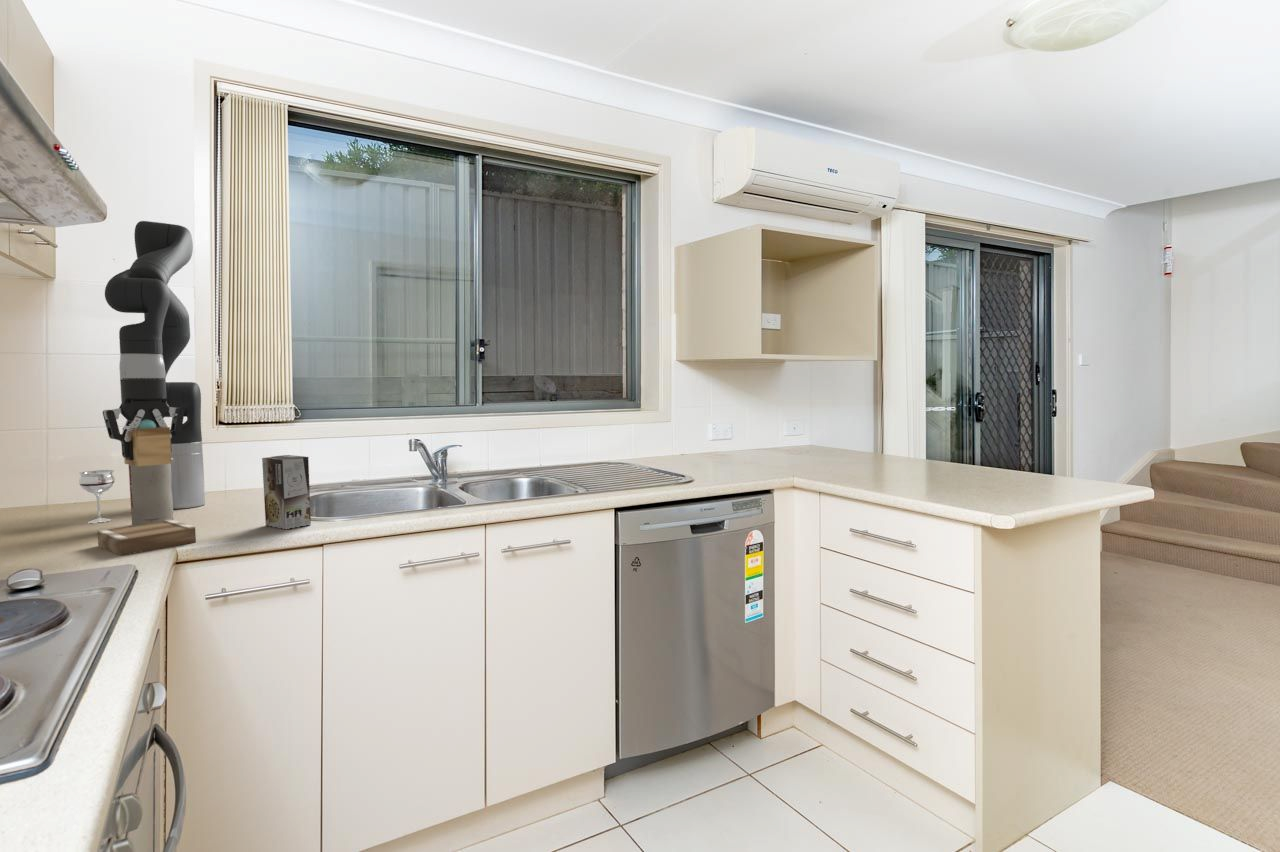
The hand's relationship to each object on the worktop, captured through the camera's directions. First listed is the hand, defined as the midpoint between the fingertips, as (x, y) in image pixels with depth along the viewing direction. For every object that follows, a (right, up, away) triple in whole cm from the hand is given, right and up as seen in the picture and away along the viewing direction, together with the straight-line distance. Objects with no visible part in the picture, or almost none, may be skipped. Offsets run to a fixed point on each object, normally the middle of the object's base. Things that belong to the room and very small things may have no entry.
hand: (147, 458), depth 140 cm
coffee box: (+20, -17, +18) cm, 32 cm away
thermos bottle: (-13, -17, +19) cm, 29 cm away
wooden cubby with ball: (0, -1, 0) cm, 1 cm away
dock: (0, -18, +1) cm, 18 cm away
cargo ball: (0, +5, 0) cm, 5 cm away
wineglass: (-28, -17, +23) cm, 40 cm away
